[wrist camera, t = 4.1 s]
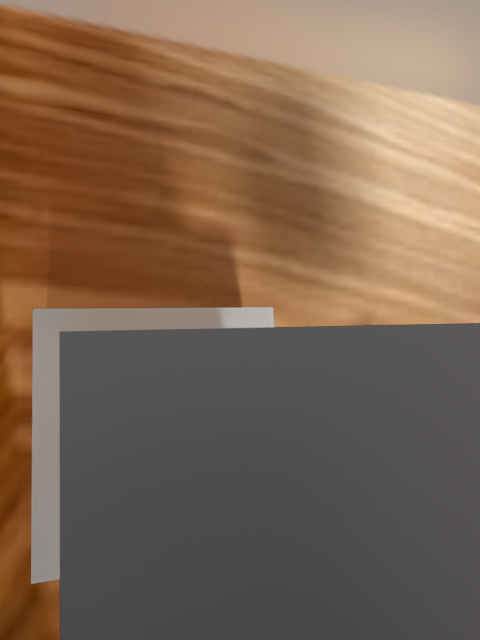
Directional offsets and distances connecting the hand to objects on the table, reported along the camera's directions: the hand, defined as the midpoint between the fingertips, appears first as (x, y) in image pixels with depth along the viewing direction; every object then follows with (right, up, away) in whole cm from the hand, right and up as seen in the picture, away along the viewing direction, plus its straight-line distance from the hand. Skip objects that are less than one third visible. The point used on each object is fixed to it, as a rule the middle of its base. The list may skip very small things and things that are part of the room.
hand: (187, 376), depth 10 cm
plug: (-2, -2, +6) cm, 7 cm away
